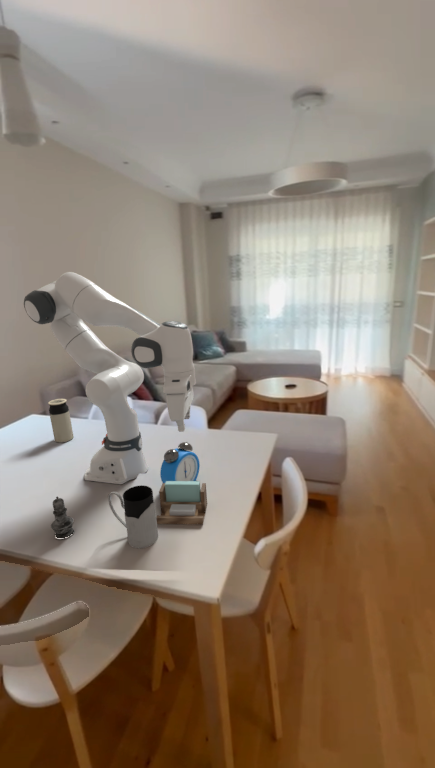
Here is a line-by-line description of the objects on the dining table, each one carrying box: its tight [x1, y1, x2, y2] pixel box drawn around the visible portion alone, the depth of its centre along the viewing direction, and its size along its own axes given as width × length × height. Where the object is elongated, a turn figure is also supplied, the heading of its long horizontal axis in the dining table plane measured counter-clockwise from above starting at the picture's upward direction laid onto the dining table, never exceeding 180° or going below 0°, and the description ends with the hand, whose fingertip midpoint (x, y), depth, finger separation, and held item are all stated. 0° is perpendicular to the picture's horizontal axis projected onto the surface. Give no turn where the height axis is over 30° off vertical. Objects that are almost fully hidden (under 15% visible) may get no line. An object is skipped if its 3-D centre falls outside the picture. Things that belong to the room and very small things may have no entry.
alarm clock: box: [159, 441, 201, 484], centre depth 124 cm, size 13×6×15 cm, turn 143°
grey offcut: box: [169, 504, 196, 516], centre depth 107 cm, size 7×3×2 cm, turn 84°
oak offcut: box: [165, 509, 198, 516], centre depth 108 cm, size 9×3×2 cm, turn 84°
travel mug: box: [47, 398, 74, 443], centre depth 167 cm, size 8×8×18 cm
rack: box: [156, 482, 208, 525], centre depth 109 cm, size 13×10×8 cm
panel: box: [165, 480, 201, 502], centre depth 111 cm, size 10×2×8 cm, turn 84°
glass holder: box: [107, 484, 159, 549], centre depth 100 cm, size 9×14×15 cm, turn 66°
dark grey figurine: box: [50, 496, 75, 538], centre depth 104 cm, size 6×6×12 cm
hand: (184, 424), depth 111 cm, fingers open, 8 cm apart
